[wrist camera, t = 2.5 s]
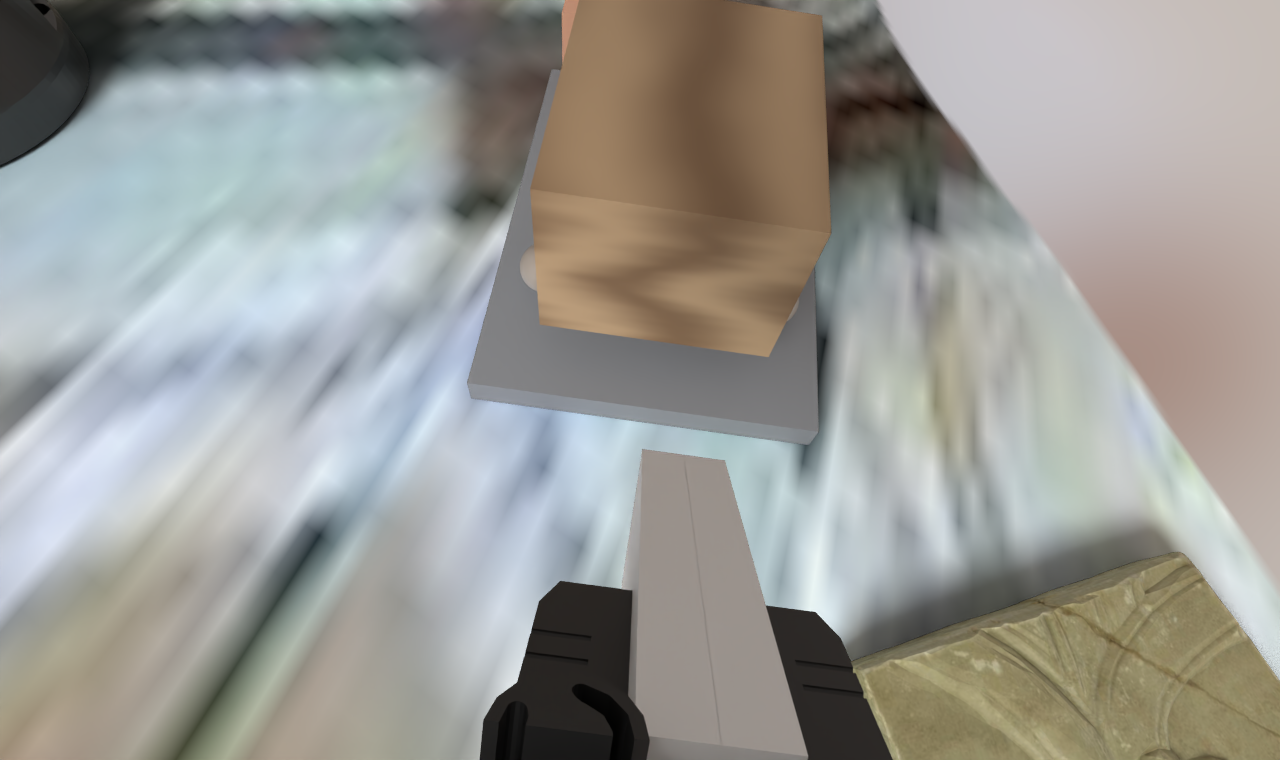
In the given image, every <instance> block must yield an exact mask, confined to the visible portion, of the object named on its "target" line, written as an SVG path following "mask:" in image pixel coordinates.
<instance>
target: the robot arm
mask: <svg viewBox="0 0 1280 760" xmlns="http://www.w3.org/2000/svg"><path fill="white" fill-rule="evenodd" d="M88 80H89V62H88V58H87V55H86V53H85V50H84V49H83V47H82V45H81V44H80V42H79V41H78V40H77V38H76V37H75V35H74V34H73V32H72V31H71V30H70V28H69V27H68V25H67V24H66V22H65V21H64V20H63V18H62V17H61V15H60V14H59V13H58V12H57V10H56V9H55V8H54V7H53V6H52V5H51V4H50V3H49V2H48V1H47V0H0V165H1V164H4V163H6V162H8V161H10V160H12V159H14V158H16V157H18V156H19V155H21V154H23V153H25V152H26V151H28V150H30V149H31V148H33V147H34V146H36V145H37V144H39V143H40V142H42V141H43V140H44V139H46V138H47V137H48V136H49V135H51V134H52V133H53V132H54V131H55V130H57V129H58V128H59V127H60V126H61V125H62V124H63V123H64V122H65V121H66V120H67V119H68V118H69V116H70V115H71V114H72V113H73V112H74V110H75V109H76V107H77V106H78V104H79V103H80V101H81V99H82V97H83V95H84V93H85V91H86V88H87V85H88ZM480 760H893V759H892V756H891V754H890V752H889V749H888V747H887V745H886V742H885V740H884V738H883V735H882V733H881V731H880V728H879V726H878V724H877V722H876V719H875V717H874V715H873V712H872V710H871V708H870V705H869V703H868V701H867V699H866V698H864V691H863V689H862V687H861V684H860V682H859V680H858V677H857V675H856V673H853V666H852V663H851V661H850V659H849V656H848V654H847V652H846V649H845V647H844V645H843V643H842V640H841V638H840V637H839V636H838V635H837V634H836V633H835V632H834V631H833V630H832V629H831V628H830V627H829V626H828V625H827V624H826V623H825V622H824V621H823V619H822V618H821V617H820V616H819V615H818V614H817V613H816V612H810V611H803V610H795V609H788V608H780V607H773V606H766V605H765V601H764V598H763V594H762V591H761V587H760V583H759V580H758V576H757V573H756V569H755V566H754V562H753V559H752V555H751V552H750V548H749V545H748V541H747V537H746V534H745V530H744V527H743V523H742V520H741V516H740V513H739V509H738V506H737V502H736V499H735V495H734V491H733V488H732V484H731V481H730V477H729V474H728V470H727V467H726V463H725V461H724V460H717V459H710V458H703V457H696V456H688V455H681V454H674V453H667V452H659V451H652V450H645V449H642V455H641V461H640V468H639V474H638V481H637V488H636V494H635V501H634V507H633V514H632V520H631V527H630V533H629V540H628V546H627V553H626V559H625V566H624V572H623V579H622V589H617V588H609V587H602V586H594V585H587V584H579V583H572V582H564V581H560V582H559V583H558V584H557V585H556V586H555V587H554V588H553V589H552V590H550V591H549V592H548V593H547V594H546V595H545V596H544V597H543V598H542V599H541V600H540V601H539V604H538V608H537V611H536V615H535V619H534V622H533V626H532V631H531V634H530V637H529V641H528V645H527V648H526V653H525V657H524V659H523V663H522V667H521V671H520V674H519V678H518V682H517V683H516V684H514V685H513V686H512V687H510V688H509V689H508V690H506V691H505V692H503V693H502V694H501V695H499V696H498V697H497V698H496V700H495V701H494V703H493V705H492V706H491V708H490V710H489V711H488V713H487V715H486V717H485V718H484V721H483V731H482V742H481V752H480Z"/></svg>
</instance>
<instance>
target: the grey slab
mask: <svg viewBox="0 0 1280 760" xmlns="http://www.w3.org/2000/svg"><path fill="white" fill-rule="evenodd" d="M578 2H579V0H565V3H564V7H563V10H562V61H563V60H564V56H565V52H566V48H567V45H568V41H569V37H570V33H571V29H572V25H573V21H574V18H575V14H576V10H577V6H578ZM560 72H561V70H555V69H552V71H551V74H550V78H549V82H548V85H547V89H546V93H545V97H544V100H543V104H542V108H541V111H540V115H539V119H538V122H537V126H536V130H535V134H534V137H533V141H532V145H531V148H530V152H529V156H528V159H527V163H526V167H525V171H524V174H523V178H522V182H521V185H520V189H519V193H518V196H517V200H516V204H515V208H514V211H513V215H512V219H511V222H510V226H509V230H508V233H507V237H506V241H505V245H504V248H503V252H502V256H501V259H500V263H499V267H498V270H497V274H496V278H495V282H494V285H493V289H492V293H491V296H490V300H489V304H488V307H487V311H486V315H485V319H484V322H483V326H482V330H481V333H480V337H479V341H478V344H477V348H476V352H475V356H474V359H473V363H472V367H471V370H470V374H469V378H468V381H467V385H468V388H469V392H470V395H471V398H472V399H480V400H487V401H494V402H501V403H508V404H516V405H523V406H530V407H537V408H545V409H552V410H559V411H566V412H573V413H581V414H588V415H595V416H602V417H609V418H617V419H624V420H631V421H638V422H645V423H653V424H660V425H667V426H674V427H682V428H689V429H696V430H703V431H710V432H718V433H725V434H732V435H739V436H746V437H754V438H761V439H768V440H775V441H783V442H790V443H797V444H804V445H809V444H810V442H811V441H812V440H813V439H814V437H815V436H816V435H817V433H818V432H819V426H818V386H817V346H816V306H815V266H814V268H813V270H812V272H811V274H810V276H809V278H808V280H807V282H806V284H805V286H804V288H803V290H802V292H801V294H800V296H799V305H798V308H797V311H796V313H795V314H794V316H793V317H792V318H791V319H790V320H789V321H787V322H786V324H785V325H784V327H783V329H782V331H781V333H780V335H779V337H778V339H777V341H776V343H775V345H774V347H773V349H772V351H771V353H770V355H769V357H764V356H757V355H750V354H743V353H736V352H729V351H722V350H715V349H707V348H700V347H693V346H686V345H679V344H672V343H665V342H658V341H651V340H644V339H637V338H630V337H623V336H616V335H609V334H602V333H595V332H588V331H581V330H574V329H567V328H560V327H553V326H546V325H540V322H539V308H538V294H537V291H535V290H533V289H531V288H530V287H529V286H528V285H527V284H526V283H525V282H524V280H523V278H522V276H521V273H520V261H521V258H522V256H523V254H524V252H525V251H526V250H527V249H528V248H529V247H530V246H532V245H534V238H533V224H532V210H531V196H530V187H531V183H532V179H533V176H534V172H535V168H536V164H537V160H538V156H539V152H540V149H541V145H542V141H543V137H544V133H545V129H546V125H547V122H548V118H549V114H550V110H551V106H552V102H553V99H554V95H555V91H556V87H557V83H558V79H559V75H560Z"/></svg>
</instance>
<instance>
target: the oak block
mask: <svg viewBox="0 0 1280 760" xmlns="http://www.w3.org/2000/svg"><path fill="white" fill-rule="evenodd" d="M530 196H531V210H532V224H533V238H534V245H532V246H530V247H529V248H528V249H527V250H526V251H525V252H524V254H523V256H522V258H521V261H520V273H521V276H522V278H523V280H524V282H525V283H526V284H527V285H528V286H529V287H530V288H531V289H533V290H535V291H537V294H538V308H539V322H540V325H546V326H553V327H560V328H567V329H574V330H581V331H588V332H595V333H602V334H609V335H616V336H623V337H630V338H637V339H644V340H651V341H658V342H665V343H672V344H679V345H686V346H693V347H700V348H707V349H715V350H722V351H729V352H736V353H743V354H750V355H757V356H764V357H769V355H770V353H771V351H772V349H773V347H774V345H775V343H776V341H777V339H778V337H779V335H780V333H781V331H782V329H783V327H784V325H785V324H786V322H787V321H789V320H790V319H791V318H792V317H793V316H794V314H795V313H796V311H797V308H798V305H799V296H800V294H801V292H802V290H803V288H804V286H805V284H806V282H807V280H808V278H809V276H810V274H811V272H812V270H813V268H814V266H815V264H816V262H817V260H818V258H819V256H820V254H821V253H822V251H823V249H824V247H825V245H826V243H827V241H828V239H829V237H830V235H831V217H830V193H829V169H828V145H827V121H826V97H825V74H824V50H823V26H822V16H821V15H815V14H808V13H802V12H796V11H789V10H783V9H776V8H770V7H764V6H757V5H751V4H745V3H738V2H732V1H725V0H579V2H578V6H577V10H576V14H575V18H574V21H573V25H572V29H571V33H570V37H569V41H568V45H567V48H566V52H565V56H564V60H563V64H562V68H561V72H560V75H559V79H558V83H557V87H556V91H555V95H554V99H553V102H552V106H551V110H550V114H549V118H548V122H547V125H546V129H545V133H544V137H543V141H542V145H541V149H540V152H539V156H538V160H537V164H536V168H535V172H534V176H533V179H532V183H531V187H530Z"/></svg>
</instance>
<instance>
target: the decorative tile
mask: <svg viewBox="0 0 1280 760" xmlns="http://www.w3.org/2000/svg"><path fill="white" fill-rule="evenodd" d="M851 663H852V666H853V673H856V675H857V677H858V680H859V682H860V684H861V687H862V689H863V691H864V698H866V699H867V701H868V703H869V705H870V708H871V710H872V712H873V715H874V717H875V719H876V722H877V724H878V726H879V728H880V731H881V733H882V735H883V738H884V740H885V742H886V745H887V747H888V749H889V752H890V754H891V756H892V759H893V760H1280V681H1279V679H1278V678H1277V676H1276V675H1275V674H1274V672H1273V671H1272V669H1271V668H1270V667H1269V665H1268V664H1267V662H1266V661H1265V660H1264V658H1263V657H1262V655H1261V654H1260V652H1259V651H1258V649H1257V648H1256V646H1255V645H1254V644H1253V642H1252V641H1251V639H1250V638H1249V637H1248V636H1247V635H1246V633H1245V632H1244V631H1243V630H1242V628H1241V627H1240V625H1239V624H1238V622H1237V621H1236V619H1235V618H1234V617H1233V616H1232V614H1231V613H1230V612H1229V611H1228V609H1227V608H1226V607H1225V605H1224V604H1223V603H1222V602H1221V600H1220V599H1219V598H1218V596H1217V595H1216V594H1215V592H1214V591H1213V590H1212V588H1211V587H1210V586H1209V584H1208V583H1207V582H1206V580H1205V579H1204V577H1203V576H1202V574H1201V573H1200V571H1199V570H1198V569H1197V568H1196V567H1195V566H1194V564H1193V563H1192V562H1191V561H1190V560H1189V559H1188V558H1187V557H1186V556H1185V555H1184V554H1183V553H1180V552H1173V553H1169V554H1165V555H1161V556H1157V557H1153V558H1149V559H1145V560H1140V561H1137V562H1133V563H1130V564H1126V565H1124V566H1121V567H1118V568H1115V569H1112V570H1109V571H1106V572H1103V573H1101V574H1098V575H1096V576H1094V577H1092V578H1089V579H1085V580H1082V581H1079V582H1076V583H1073V584H1069V585H1066V586H1063V587H1060V588H1057V589H1054V590H1051V591H1048V592H1045V593H1042V594H1040V595H1038V596H1035V597H1033V598H1030V599H1027V600H1024V601H1021V602H1019V603H1018V604H1015V605H1012V606H1009V607H1007V608H1004V609H1001V610H998V611H995V612H992V613H989V614H985V615H982V616H980V617H976V618H972V619H969V620H966V621H962V622H959V623H956V624H953V625H950V626H947V627H945V628H942V629H940V630H937V631H935V632H932V633H929V634H927V635H924V636H921V637H919V638H916V639H913V640H911V641H908V642H906V643H903V644H900V645H897V646H894V647H891V648H888V649H884V650H881V651H879V652H876V653H874V654H871V655H868V656H865V657H863V658H860V659H857V660H854V661H851Z"/></svg>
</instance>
